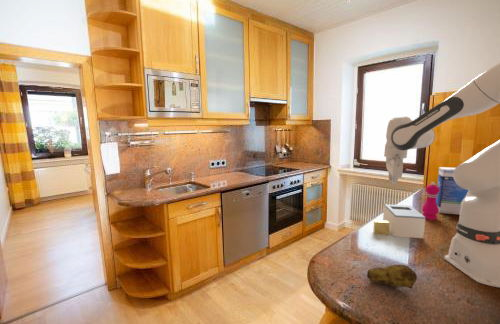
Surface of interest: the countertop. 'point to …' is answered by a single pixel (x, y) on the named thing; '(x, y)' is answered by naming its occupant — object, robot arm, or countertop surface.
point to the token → (381, 227)
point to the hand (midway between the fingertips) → (392, 182)
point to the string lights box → (449, 192)
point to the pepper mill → (431, 202)
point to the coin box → (404, 221)
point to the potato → (393, 276)
